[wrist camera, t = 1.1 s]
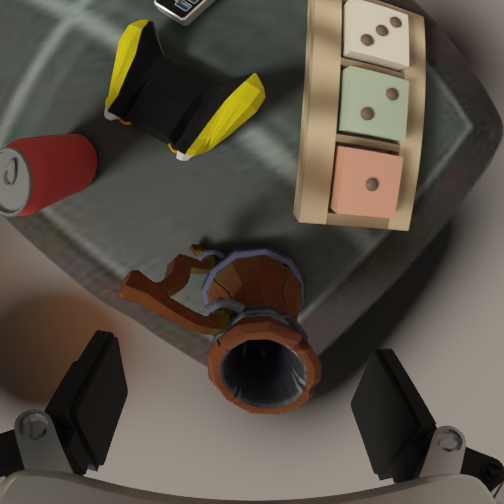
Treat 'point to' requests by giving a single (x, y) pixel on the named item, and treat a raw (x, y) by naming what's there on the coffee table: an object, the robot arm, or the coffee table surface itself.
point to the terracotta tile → (365, 183)
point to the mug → (242, 322)
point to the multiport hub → (183, 9)
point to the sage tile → (373, 104)
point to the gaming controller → (175, 96)
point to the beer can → (44, 171)
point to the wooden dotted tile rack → (328, 136)
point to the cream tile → (375, 35)
